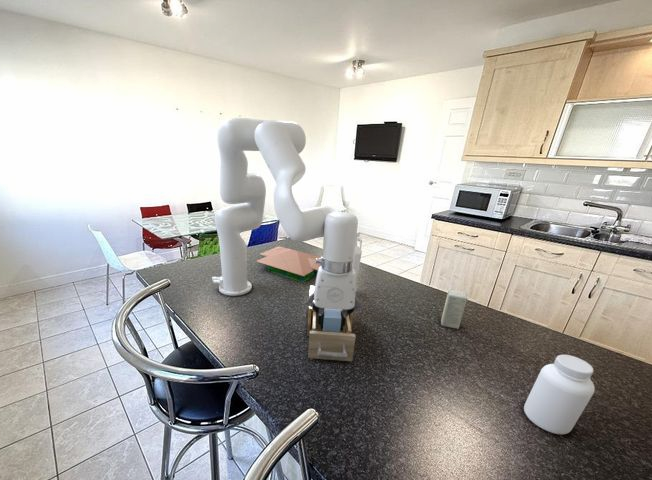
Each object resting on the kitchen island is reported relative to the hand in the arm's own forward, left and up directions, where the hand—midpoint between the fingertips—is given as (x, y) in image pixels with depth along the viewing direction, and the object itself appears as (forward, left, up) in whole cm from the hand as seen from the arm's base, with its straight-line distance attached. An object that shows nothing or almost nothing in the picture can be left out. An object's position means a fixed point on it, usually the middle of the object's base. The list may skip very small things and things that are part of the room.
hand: (331, 326), depth 79 cm
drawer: (0, -1, -6) cm, 7 cm away
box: (+39, +17, -7) cm, 43 cm away
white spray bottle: (+8, +32, -7) cm, 34 cm away
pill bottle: (+45, -18, -7) cm, 49 cm away
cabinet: (0, +12, -7) cm, 14 cm away
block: (0, 0, 0) cm, 0 cm away
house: (-15, +57, -7) cm, 59 cm away
